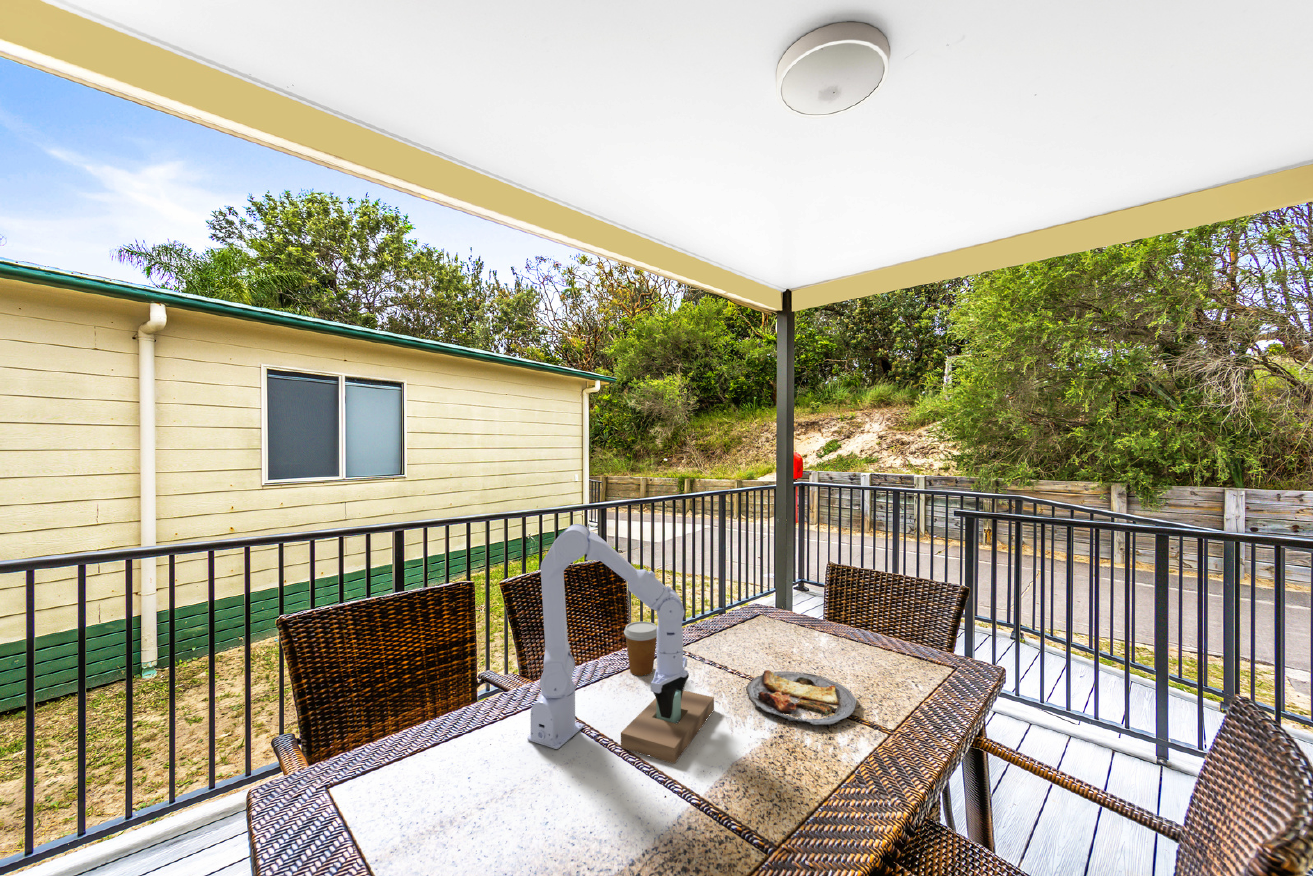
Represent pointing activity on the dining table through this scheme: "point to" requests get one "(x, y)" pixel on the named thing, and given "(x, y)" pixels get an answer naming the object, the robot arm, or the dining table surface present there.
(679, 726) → the well board
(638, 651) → the disposable coffee cup
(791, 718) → the food plate
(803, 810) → the dining table surface
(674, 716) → the teal block
